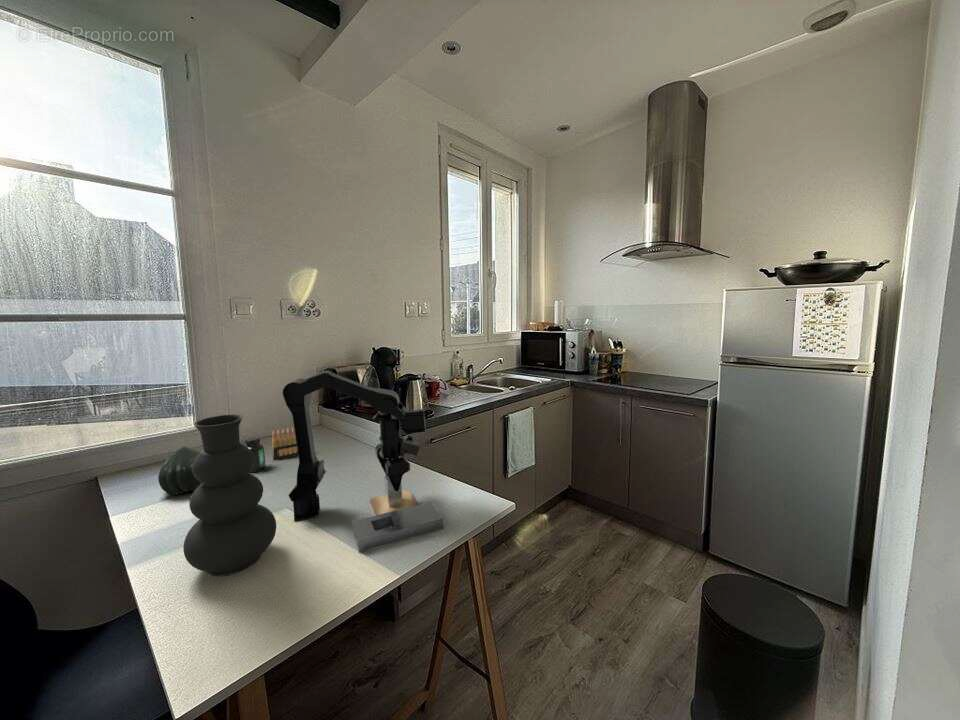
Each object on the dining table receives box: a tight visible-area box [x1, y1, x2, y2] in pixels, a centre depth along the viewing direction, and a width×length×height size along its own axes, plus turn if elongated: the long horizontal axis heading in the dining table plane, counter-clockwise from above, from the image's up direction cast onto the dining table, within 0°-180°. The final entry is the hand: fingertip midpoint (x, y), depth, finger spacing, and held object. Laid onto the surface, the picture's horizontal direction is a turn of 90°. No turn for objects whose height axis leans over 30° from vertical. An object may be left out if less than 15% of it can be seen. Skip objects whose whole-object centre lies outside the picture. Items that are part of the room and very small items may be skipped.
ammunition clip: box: [271, 426, 299, 461], centre depth 157 cm, size 11×2×12 cm, turn 124°
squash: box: [157, 445, 201, 495], centre depth 130 cm, size 14×15×15 cm
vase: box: [182, 413, 277, 577], centre depth 90 cm, size 18×18×35 cm
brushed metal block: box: [384, 475, 403, 507], centre depth 116 cm, size 4×4×8 cm
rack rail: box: [352, 501, 444, 553], centre depth 104 cm, size 22×10×3 cm, turn 116°
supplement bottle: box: [244, 436, 267, 474], centre depth 145 cm, size 7×7×12 cm
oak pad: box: [369, 489, 419, 516], centre depth 116 cm, size 12×12×1 cm
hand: (393, 484), depth 116 cm, fingers open, 9 cm apart
